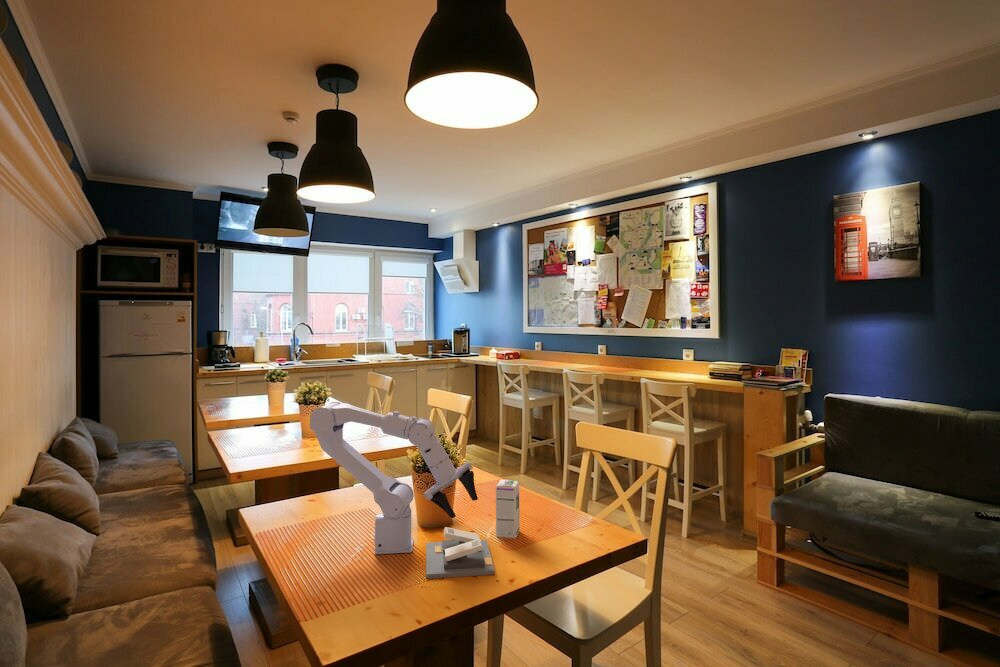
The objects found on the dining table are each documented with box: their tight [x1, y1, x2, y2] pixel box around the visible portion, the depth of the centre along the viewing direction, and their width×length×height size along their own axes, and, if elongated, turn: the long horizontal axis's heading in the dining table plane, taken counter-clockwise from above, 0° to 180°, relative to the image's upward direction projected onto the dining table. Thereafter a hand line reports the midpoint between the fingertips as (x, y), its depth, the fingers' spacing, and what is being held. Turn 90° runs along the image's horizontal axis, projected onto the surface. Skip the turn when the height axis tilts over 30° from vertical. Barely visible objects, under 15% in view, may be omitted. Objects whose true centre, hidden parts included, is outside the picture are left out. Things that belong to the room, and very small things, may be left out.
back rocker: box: [443, 526, 480, 542], centre depth 135 cm, size 9×4×1 cm, turn 98°
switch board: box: [425, 539, 496, 580], centre depth 131 cm, size 16×17×3 cm
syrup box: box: [495, 479, 521, 539], centre depth 147 cm, size 6×6×14 cm
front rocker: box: [445, 537, 483, 561], centre depth 127 cm, size 9×4×1 cm, turn 97°
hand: (464, 508), depth 136 cm, fingers open, 7 cm apart
